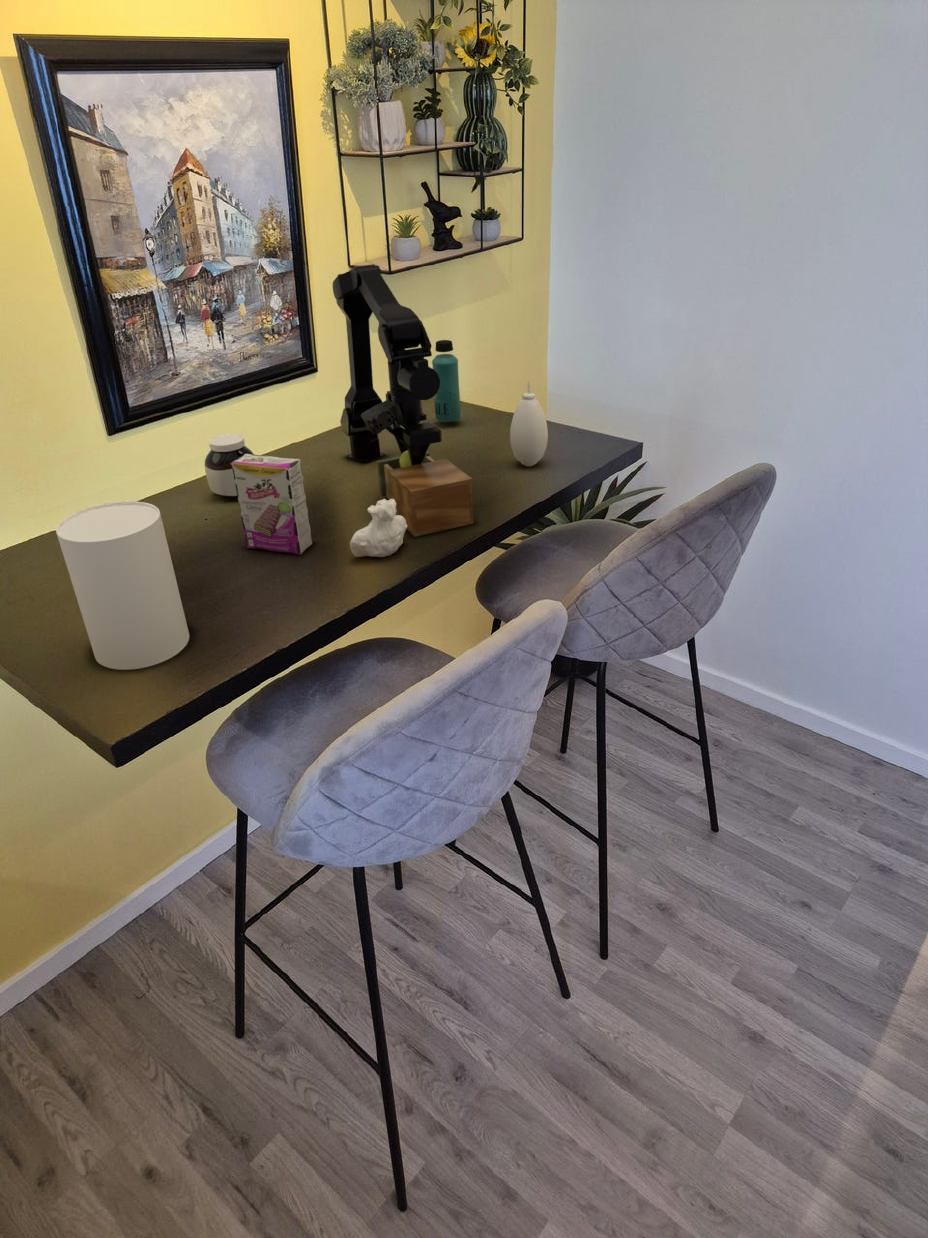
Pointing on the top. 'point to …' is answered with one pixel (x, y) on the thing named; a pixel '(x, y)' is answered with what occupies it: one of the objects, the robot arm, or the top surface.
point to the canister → (124, 583)
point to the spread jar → (224, 464)
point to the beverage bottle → (447, 384)
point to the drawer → (390, 465)
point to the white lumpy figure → (380, 531)
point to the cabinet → (432, 496)
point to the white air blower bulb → (528, 430)
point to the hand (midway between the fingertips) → (411, 467)
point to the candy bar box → (272, 503)
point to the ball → (405, 459)
